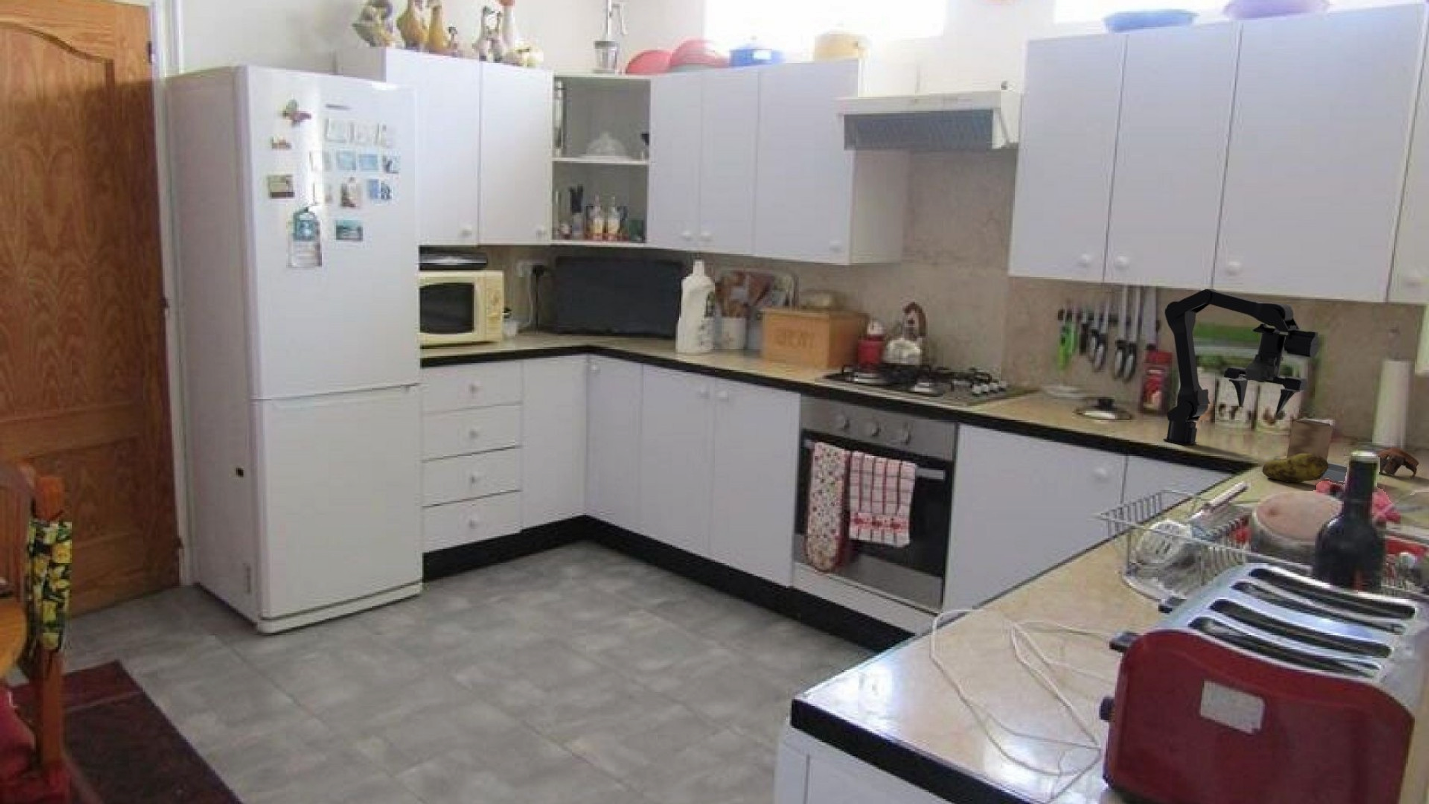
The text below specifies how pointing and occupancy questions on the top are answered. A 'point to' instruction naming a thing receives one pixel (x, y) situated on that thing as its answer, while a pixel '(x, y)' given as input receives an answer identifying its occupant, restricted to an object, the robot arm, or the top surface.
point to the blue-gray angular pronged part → (1334, 472)
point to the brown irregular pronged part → (1396, 461)
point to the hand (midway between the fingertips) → (1258, 410)
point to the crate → (1310, 438)
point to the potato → (1296, 468)
